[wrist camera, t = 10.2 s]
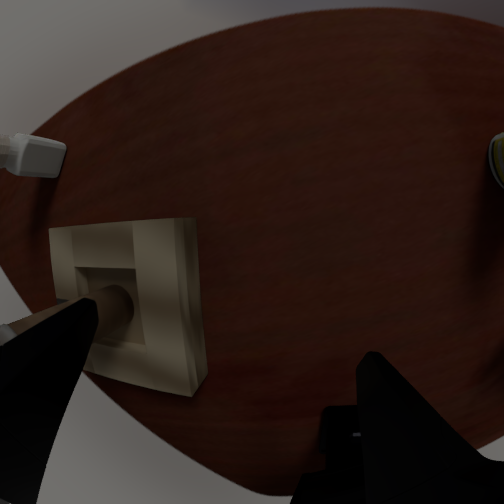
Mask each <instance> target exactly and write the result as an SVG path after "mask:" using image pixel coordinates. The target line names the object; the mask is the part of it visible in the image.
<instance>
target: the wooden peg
mask: <svg viewBox="0 0 504 504" xmlns="http://www.w3.org/2000/svg"><path fill="white" fill-rule="evenodd" d="M84 297H86V298H89V299H93V300H95V301H96V303H97V309H98V316H99V324H98V328H97V330H96V333H95V336H94V339H93V342H92V344H93V343H95V342H97V341H98V340H100V339H102V338H103V337H105V336H107V335H108V334H110V333H112V332H114V331H115V330H117V329H119V328H120V327H122V326H124V325H125V324H127V323H129V322H130V321H131V320H132V318H133V316H134V304H133V300H132V298H131V296H130V294H129V293H128V292H127V291H126V290H125V289H124V288H123V287H121V286H119V285H115V284H114V285H110V286H107V287H104V288H101V289H99V290H96V291H93V292H91V293H88V294H85V295H83V296H80V297H77V298H75V299H72V300H69V301H67V302H64V303H61V304H59V305H56V306H54V307H51V308H48V309H46V310H43V311H41V312H38V313H35V314H33V315H30V316H28V317H25V318H22V319H20V320H17V321H15V322H12V323H10V324H3V325H0V346H1V345H2V346H3V344H4V343H6V342H8V341H9V340H11V339H12V338H14V337H16V336H17V335H19V334H21V333H22V332H24V331H26V330H28V329H29V328H31V327H33V326H34V325H36V324H38V323H39V322H41V321H43V320H45V319H46V318H48V317H50V316H52V315H53V314H55V313H57V312H59V311H60V310H62V309H64V308H66V307H67V306H69V305H71V304H73V303H75V302H76V301H78V300H80V299H82V298H84Z"/></svg>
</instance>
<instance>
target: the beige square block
mask: <svg viewBox="0 0 504 504" xmlns="http://www.w3.org/2000/svg"><path fill="white" fill-rule="evenodd" d="M49 238H50V251H51V261H52V270H53V278H54V285H55V291H56V297H57V303H58V305H59V304H61V303H64V302H67V301H69V300H72V299H75V298H77V297H80V296H83V295H85V294H88V293H91V292H93V291H96V290H99V289H101V288H104V287H107V286H110V285H114V284H115V285H119V286H121V287H123V288H124V289H125V290H126V291H127V292H128V293H129V294H130V296H131V298H132V300H133V304H134V316H133V318H132V320H131V321H130V322H129V323H127V324H125V325H124V326H122V327H120V328H119V329H117V330H115V331H114V332H112V333H110V334H108V335H107V336H105V337H103V338H102V339H100V340H98V341H97V342H95V343H93V344H92V345H91V348H90V351H89V354H88V357H87V360H86V363H85V365H84V368H83V369H84V370H86V371H90V372H93V373H96V374H99V375H102V376H105V377H109V378H112V379H116V380H119V381H123V382H126V383H130V384H134V385H138V386H142V387H146V388H150V389H155V390H159V391H164V392H169V393H174V394H179V395H184V396H190V397H192V396H193V395H194V393H195V392H196V390H197V389H198V387H199V386H200V384H201V383H202V381H203V380H204V379H205V377H206V376H207V374H208V369H207V360H206V351H205V341H204V330H203V319H202V307H201V294H200V280H199V265H198V247H197V225H196V217H192V218H169V219H154V220H139V221H126V222H113V223H102V224H90V225H80V226H69V227H60V228H50V229H49Z"/></svg>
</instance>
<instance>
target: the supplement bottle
mask: <svg viewBox="0 0 504 504" xmlns="http://www.w3.org/2000/svg"><path fill="white" fill-rule="evenodd" d="M489 164H490V168H491V171H492V173H493V175H494V177H495V179H496V181H497V182H498V183H499V185H500V186H501V187H502V188H503V189H504V132H502V133H500V134H498V135H496V136H495V137H494V138H493V139H492V141H491V143H490V146H489Z"/></svg>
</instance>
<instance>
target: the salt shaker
mask: <svg viewBox="0 0 504 504" xmlns="http://www.w3.org/2000/svg"><path fill="white" fill-rule="evenodd" d="M65 152H66V145H65V144H64V143H61V142H58V141H55V140H51V139H47V138H42V137H37V136H32V135H26V134H21V133H16V134H15V135H14V137H13V138H11V137H9V136H5V135H0V168H3V167H6V169H7V170H8V171H9V172H11V173H13V174H15V175H17V176H32V177H46V178H55V177H58V175H59V173H60V169H61V166H62V162H63V159H64V155H65Z"/></svg>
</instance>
